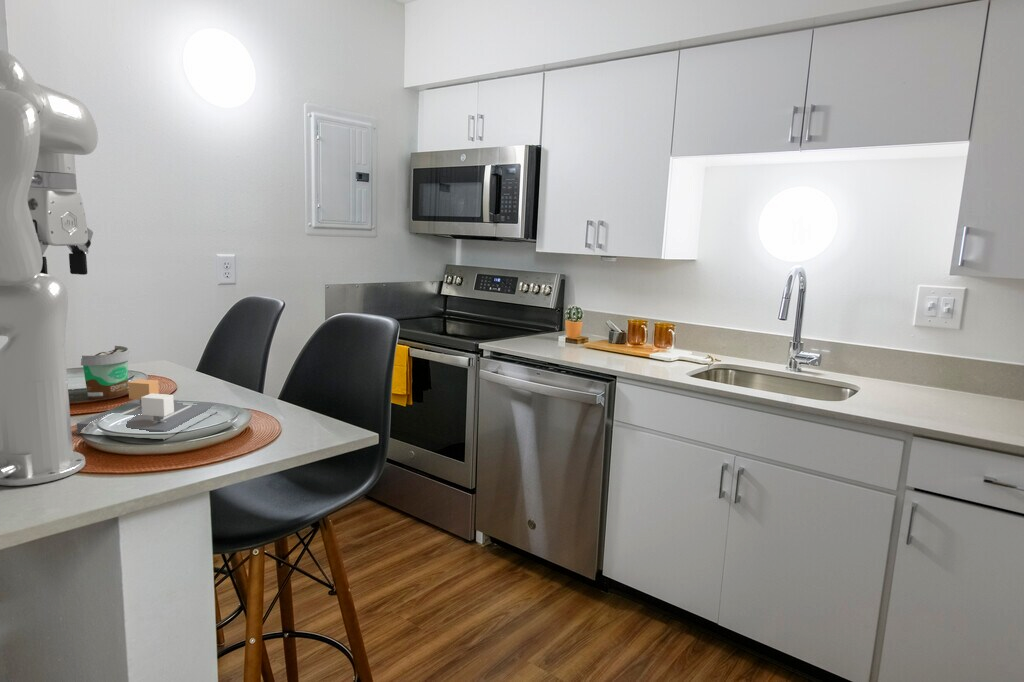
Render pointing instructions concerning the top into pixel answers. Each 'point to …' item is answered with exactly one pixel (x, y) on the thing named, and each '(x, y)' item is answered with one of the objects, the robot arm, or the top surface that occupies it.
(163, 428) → the panel
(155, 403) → the fader
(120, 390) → the food container
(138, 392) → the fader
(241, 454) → the top surface
